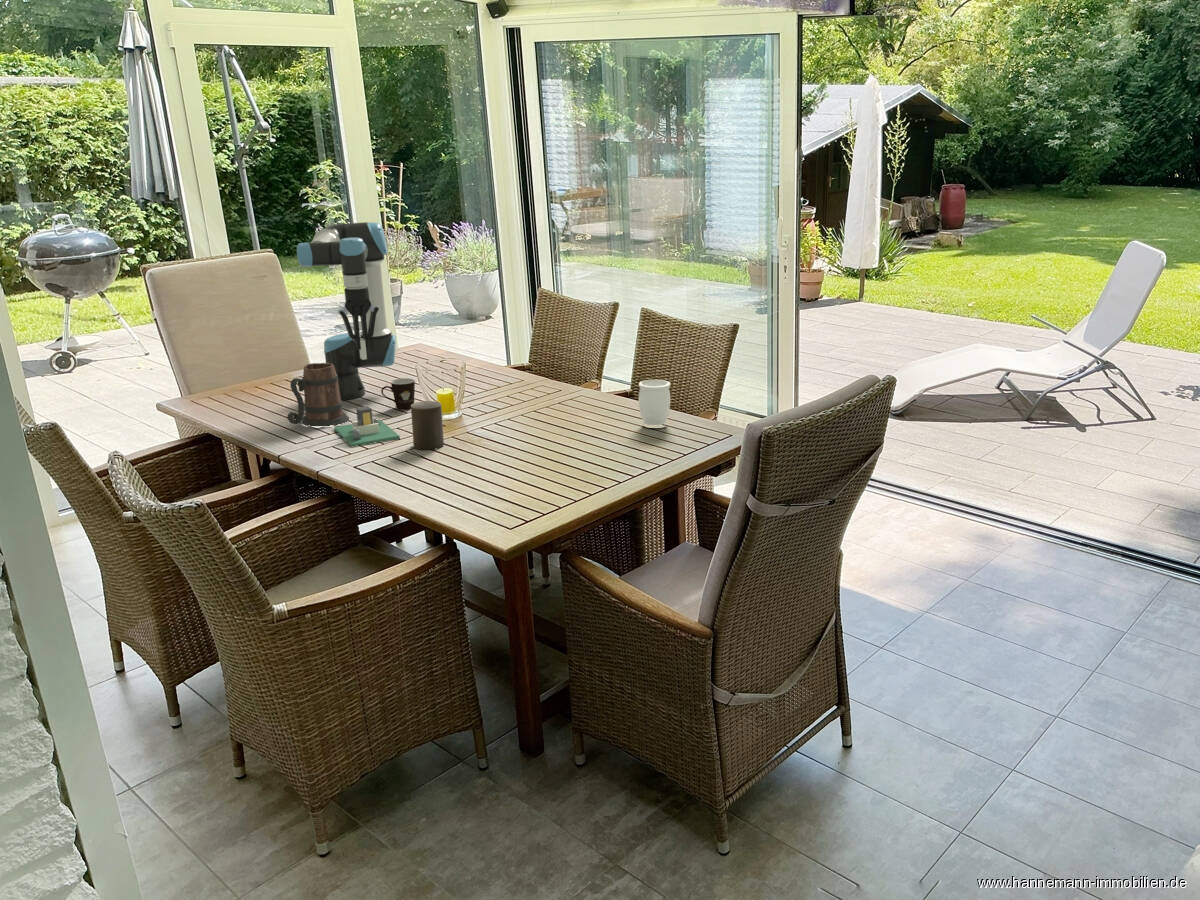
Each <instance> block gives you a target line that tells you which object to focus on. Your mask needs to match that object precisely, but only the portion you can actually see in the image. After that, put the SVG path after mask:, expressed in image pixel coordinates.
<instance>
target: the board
mask: <svg viewBox="0 0 1200 900" xmlns="http://www.w3.org/2000/svg"><path fill="white" fill-rule="evenodd" d="M333 428H334V429H335V430H336V431H337V432H338V433H339V434H340V435H341V436H342V437H343V438H344V439H345V440H346V441H347V442H348V443H349V444H350V445H351V446H355V447H357V446H356V445H360V446H364V445H363V444H366V445H371V444H370V443H372V444H375V443H374V442H378V443H381V442H380V441H384V442H388V440H389V441H393V440H394V439H395V440H399V439H401V438H400V435H399V434H398V433H397V432H396V431H394V429H392V427H390V426H388V425H387V423H385V422H384V421H383V420H381V419H376V418H373V424H369V425H363V426H358V421H357V420H356V421H351V423H350V424H346V425H345V424H342V425H338V426H334V427H333ZM335 430H334V431H335ZM336 431H335V432H336ZM337 432H336V433H337ZM338 433H337V434H338ZM339 434H338V435H339ZM341 436H340V437H341ZM342 437H341V438H342ZM343 438H342V439H343ZM344 439H343V440H344ZM345 440H344V441H345ZM346 441H345V442H346ZM347 442H346V443H347ZM348 443H347V444H348ZM349 444H348V445H349ZM350 445H349V446H350ZM351 446H350V447H351Z"/></svg>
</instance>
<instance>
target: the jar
mask: <svg viewBox="0 0 1200 900" xmlns="http://www.w3.org/2000/svg"><path fill="white" fill-rule="evenodd" d="M638 387H639V391H638V392H639V393H638V407H639V413H640V417H641V420H642V423H644V424H647V425H662V424H665V423H667V420H668V418H669V415H670V407H671V392H670V387H671V382H670V381H668V380H664V379H647V380H646V379H645V380H641V381H640V382H639V383H638Z"/></svg>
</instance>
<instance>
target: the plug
mask: <svg viewBox="0 0 1200 900" xmlns="http://www.w3.org/2000/svg"><path fill="white" fill-rule="evenodd" d="M355 410H356V419H357V420H356V421H358V426H363V425H369V424H373V419H374V418H373V410H372V408H371V407H370V406H368V405H366V406H365V405H364V406H360V407H355Z"/></svg>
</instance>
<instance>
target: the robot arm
mask: <svg viewBox="0 0 1200 900" xmlns="http://www.w3.org/2000/svg"><path fill="white" fill-rule="evenodd" d="M387 245H388V244H387V241H386V235H385V232H384V229H383V226H382V224H380V223H379V222H371V221H369V222H368V221H367V222H366V221H365V222H351V223H336V224H332V225H329V226H326V227H324V228H322V229H320V230H319V231H317V232H315V234H314V236H313V239H312V241H311V242H306V241H305V242H300V243H298V244H297V246H296V257H297V262H298V264H299V266H301V267H310V268H311V267H318V266H319V267H321V266H341V267H342V268H341V269H342V280H343V286H344V297H345V298H344V300H345V302H344V307H343V308H341V309H339V310H338V312H337V313H338V314H339V315H340V316H341V318H342V320H343V321H342V322H343V323H344V327H345V329H346V331H347V332H345V333H339V334H335V335H332V336H329V337H328V338H326V339H325V340H324V342H323V347H324V348H323V353H324V358H325V363H331V364H333V365H334V368H335V371H336V374H337V375H338V386H339V392H340V398H341V401H343V400H344V401H346V400H353V399H358V398H361V397H362V396H365V395H366V388H365V385H364V383H363V381H362V378H361V376H360V374H359V373H360V372H359V369H361V368H362V369H363V368H379V367H380V368H384V367H389V366H393V365H394V364H395V362H396V361H395V359H396V348H397V347H396V344H397V341H396V340H397V339H396V335H394V334H392V330H391V329H390V328H389V327H388V325H387V316H386V308H385V307H386V305H385V295H384V294H385V293H384V286H383V275H382V267H381V266H382V265H381V264H382V262H383V261H384V260H385V256H386V255H387V254H388V253H389V251H388V246H387ZM348 313H349V314H350V315H351V318H352V325H353V329H352V325H351V323H350V321H349V318H348V316H347V315H348ZM359 317H360V323H359ZM360 325H361V331H360Z"/></svg>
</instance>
